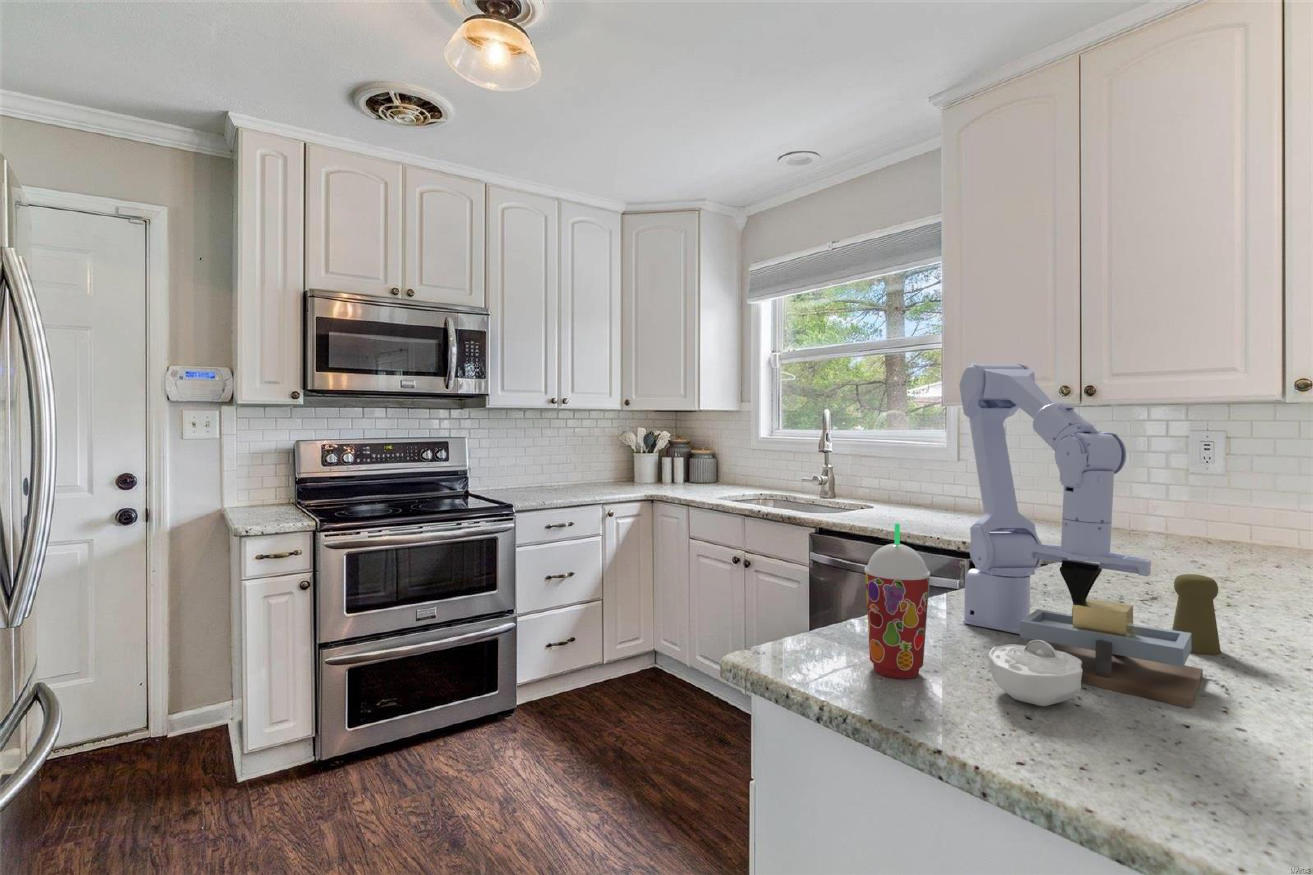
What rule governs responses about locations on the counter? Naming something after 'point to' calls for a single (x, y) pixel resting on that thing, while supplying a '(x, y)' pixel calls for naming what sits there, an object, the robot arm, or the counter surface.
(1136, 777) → the counter surface
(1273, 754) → the counter surface
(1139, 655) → the beam
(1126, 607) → the block
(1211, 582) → the cork
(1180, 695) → the stand
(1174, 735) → the counter surface
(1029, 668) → the cell model
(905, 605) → the smoothie
